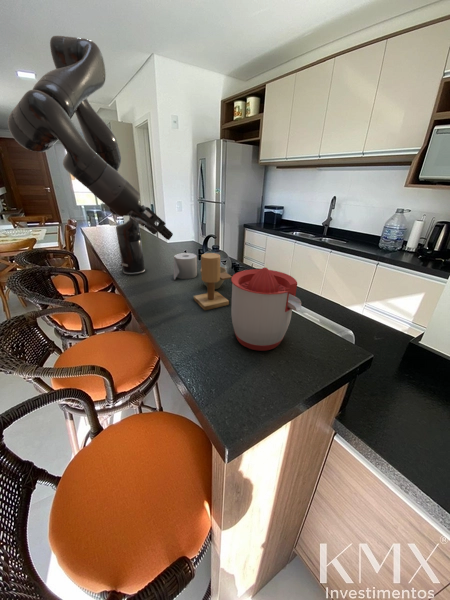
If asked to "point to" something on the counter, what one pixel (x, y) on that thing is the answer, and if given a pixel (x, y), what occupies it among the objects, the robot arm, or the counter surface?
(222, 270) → the beige bowl
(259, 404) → the counter surface
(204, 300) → the paper towel holder
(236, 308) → the citrus juicer
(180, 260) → the toilet tissue
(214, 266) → the cap
